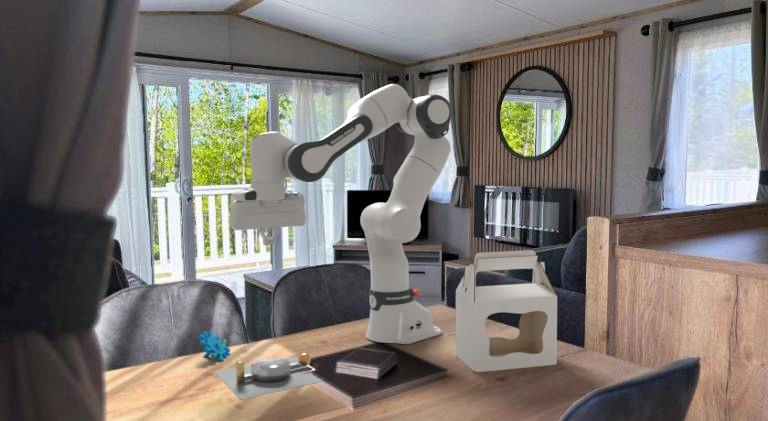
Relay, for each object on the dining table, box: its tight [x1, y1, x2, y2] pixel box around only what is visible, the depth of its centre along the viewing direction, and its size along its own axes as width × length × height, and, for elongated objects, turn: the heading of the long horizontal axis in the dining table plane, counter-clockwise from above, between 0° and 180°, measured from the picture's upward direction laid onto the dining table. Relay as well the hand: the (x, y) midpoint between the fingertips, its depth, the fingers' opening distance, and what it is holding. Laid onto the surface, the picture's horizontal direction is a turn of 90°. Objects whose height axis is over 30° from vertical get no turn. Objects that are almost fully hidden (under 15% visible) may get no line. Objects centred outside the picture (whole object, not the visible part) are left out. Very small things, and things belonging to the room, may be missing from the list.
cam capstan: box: [235, 352, 312, 383], centre depth 137 cm, size 10×19×5 cm, turn 127°
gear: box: [198, 331, 232, 362], centre depth 152 cm, size 11×6×10 cm
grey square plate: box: [213, 356, 322, 401], centre depth 137 cm, size 21×20×1 cm
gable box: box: [455, 249, 558, 374], centre depth 148 cm, size 22×13×28 cm, turn 103°
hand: (269, 244), depth 156 cm, fingers closed
